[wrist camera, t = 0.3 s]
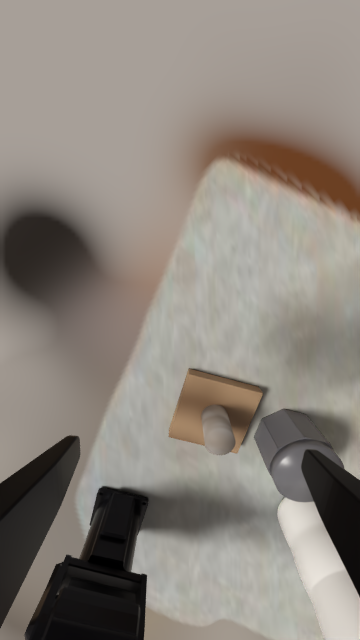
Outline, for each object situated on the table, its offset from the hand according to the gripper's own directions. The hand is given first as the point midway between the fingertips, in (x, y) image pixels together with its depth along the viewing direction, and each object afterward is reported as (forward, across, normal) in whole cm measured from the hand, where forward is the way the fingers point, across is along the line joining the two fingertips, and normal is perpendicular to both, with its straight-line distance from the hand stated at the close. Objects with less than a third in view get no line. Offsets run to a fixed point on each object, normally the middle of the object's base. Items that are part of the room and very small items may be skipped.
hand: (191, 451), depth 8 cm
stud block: (+14, -4, +8) cm, 16 cm away
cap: (+14, -12, +11) cm, 21 cm away
